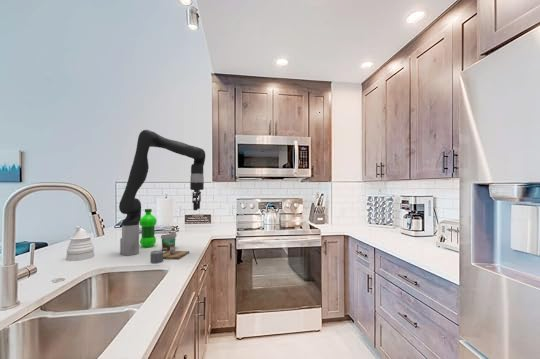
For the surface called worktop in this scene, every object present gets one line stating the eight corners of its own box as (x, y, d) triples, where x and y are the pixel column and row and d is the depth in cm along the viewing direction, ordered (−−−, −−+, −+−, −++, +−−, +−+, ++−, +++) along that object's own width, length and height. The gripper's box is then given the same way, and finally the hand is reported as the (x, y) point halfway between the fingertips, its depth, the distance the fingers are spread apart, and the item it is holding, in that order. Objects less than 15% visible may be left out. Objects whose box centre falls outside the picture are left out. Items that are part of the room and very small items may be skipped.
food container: (169, 251, 166) (169, 235, 166) (160, 251, 167) (160, 235, 167) (180, 247, 178) (180, 232, 178) (171, 246, 179) (171, 231, 179)
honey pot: (79, 261, 146) (80, 228, 146) (60, 260, 148) (60, 227, 149) (99, 255, 158) (99, 224, 159) (81, 254, 161) (81, 224, 161)
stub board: (154, 258, 150) (154, 250, 150) (167, 252, 163) (167, 244, 164) (178, 259, 148) (178, 250, 148) (189, 253, 162) (189, 245, 162)
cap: (148, 263, 141) (148, 253, 142) (154, 260, 147) (154, 250, 148) (159, 263, 141) (159, 253, 141) (165, 260, 147) (165, 250, 147)
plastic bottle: (144, 244, 186) (144, 208, 186) (159, 244, 185) (159, 208, 186) (136, 248, 176) (136, 209, 176) (152, 248, 175) (152, 209, 176)
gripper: (192, 181, 163) (192, 208, 163) (187, 181, 149) (187, 210, 149) (205, 181, 164) (205, 208, 164) (201, 181, 150) (201, 210, 150)
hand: (196, 209), depth 156 cm, fingers open, 8 cm apart
